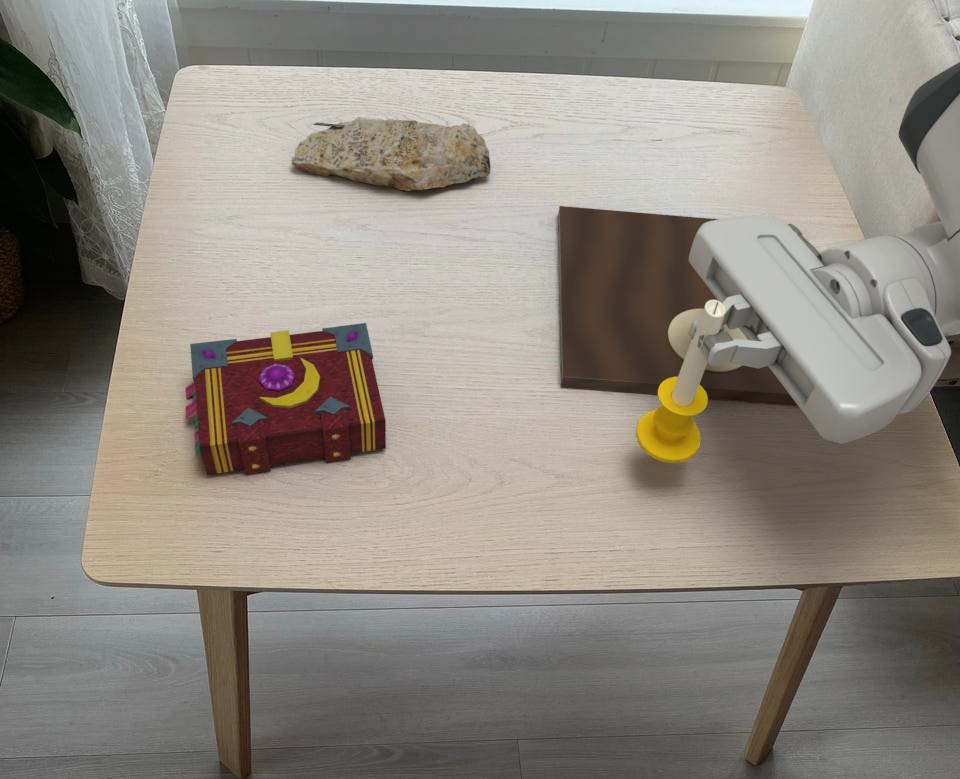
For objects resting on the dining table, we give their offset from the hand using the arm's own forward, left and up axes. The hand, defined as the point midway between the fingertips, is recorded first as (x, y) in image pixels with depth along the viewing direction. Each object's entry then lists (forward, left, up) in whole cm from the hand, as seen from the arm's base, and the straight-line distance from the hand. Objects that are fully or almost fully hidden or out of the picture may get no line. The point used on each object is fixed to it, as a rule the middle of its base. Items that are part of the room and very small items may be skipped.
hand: (700, 343), depth 67 cm
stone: (+46, -9, -17) cm, 50 cm away
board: (+12, -18, -17) cm, 28 cm away
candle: (0, -1, -12) cm, 13 cm away
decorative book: (+25, +20, -17) cm, 36 cm away
